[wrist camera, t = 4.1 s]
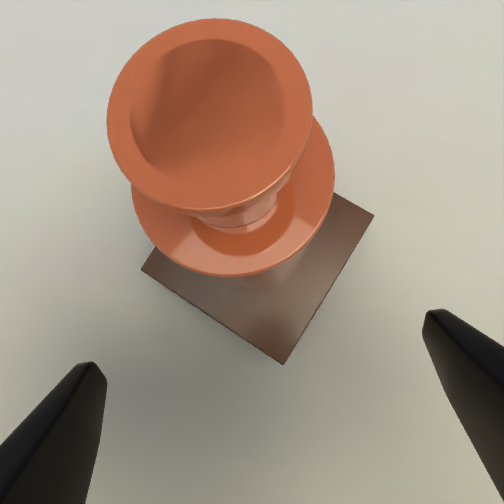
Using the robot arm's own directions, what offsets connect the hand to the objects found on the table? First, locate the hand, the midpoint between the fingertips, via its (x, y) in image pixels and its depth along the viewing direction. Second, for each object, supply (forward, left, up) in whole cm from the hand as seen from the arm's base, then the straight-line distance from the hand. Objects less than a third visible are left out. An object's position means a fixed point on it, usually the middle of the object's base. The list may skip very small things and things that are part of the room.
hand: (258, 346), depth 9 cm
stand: (+3, -4, -12) cm, 13 cm away
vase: (+3, -4, -10) cm, 11 cm away
